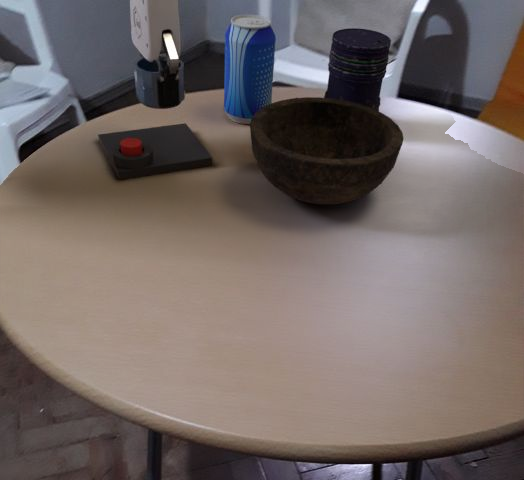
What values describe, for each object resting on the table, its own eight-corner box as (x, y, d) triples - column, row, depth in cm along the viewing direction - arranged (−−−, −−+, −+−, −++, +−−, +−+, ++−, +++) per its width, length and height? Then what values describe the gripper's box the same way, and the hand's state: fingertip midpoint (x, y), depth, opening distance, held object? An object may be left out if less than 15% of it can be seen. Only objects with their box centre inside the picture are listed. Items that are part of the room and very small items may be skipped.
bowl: (276, 146, 106) (280, 86, 99) (402, 176, 101) (417, 115, 94) (224, 208, 91) (225, 142, 84) (370, 245, 86) (384, 179, 79)
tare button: (124, 158, 94) (123, 148, 93) (118, 148, 96) (117, 139, 95) (145, 155, 95) (144, 145, 94) (139, 146, 97) (138, 136, 96)
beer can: (254, 130, 110) (259, 32, 99) (214, 117, 113) (215, 20, 102) (278, 115, 115) (286, 20, 104) (240, 102, 118) (243, 9, 107)
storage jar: (312, 129, 111) (322, 39, 101) (332, 110, 118) (344, 24, 108) (365, 143, 109) (381, 52, 98) (382, 122, 115) (399, 35, 105)
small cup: (144, 112, 95) (141, 75, 91) (131, 94, 99) (128, 57, 96) (191, 107, 97) (190, 70, 93) (176, 88, 102) (174, 53, 98)
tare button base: (119, 180, 95) (116, 161, 93) (98, 142, 103) (96, 124, 101) (212, 165, 100) (212, 147, 98) (185, 130, 108) (185, 113, 106)
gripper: (109, -49, 90) (122, 77, 102) (144, -16, 79) (153, 121, 91) (160, -51, 92) (166, 72, 104) (200, -19, 81) (202, 115, 93)
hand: (160, 94), depth 98 cm, fingers closed on small cup, 7 cm apart
